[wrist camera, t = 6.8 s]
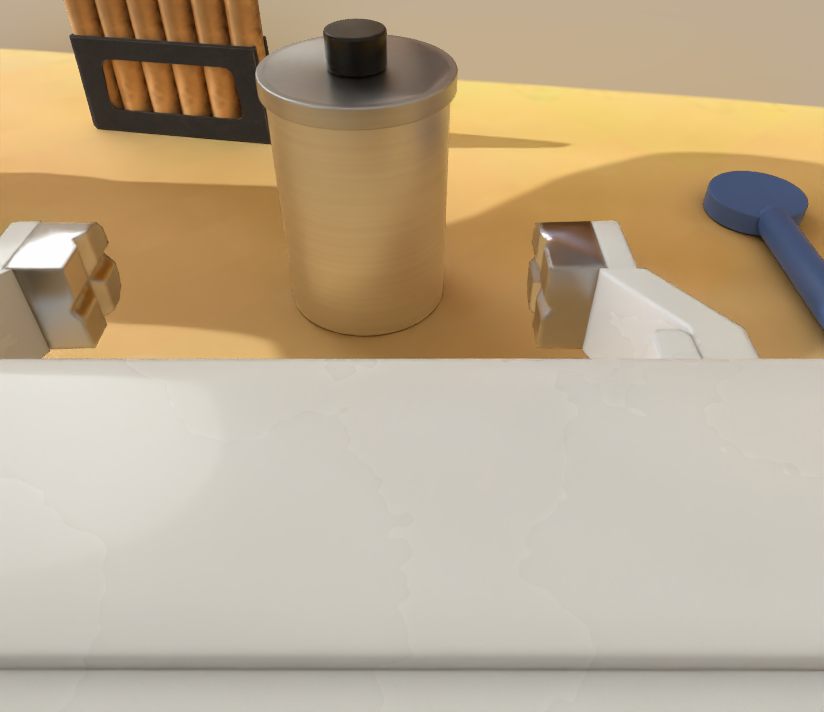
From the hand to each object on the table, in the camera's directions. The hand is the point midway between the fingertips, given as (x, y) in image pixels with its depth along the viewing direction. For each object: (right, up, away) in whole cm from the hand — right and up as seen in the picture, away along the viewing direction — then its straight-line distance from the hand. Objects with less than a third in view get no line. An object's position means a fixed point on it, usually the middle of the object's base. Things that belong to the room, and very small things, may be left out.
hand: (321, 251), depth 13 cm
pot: (0, +1, +16) cm, 16 cm away
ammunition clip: (-11, +11, +27) cm, 31 cm away
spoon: (+18, +1, +16) cm, 24 cm away
